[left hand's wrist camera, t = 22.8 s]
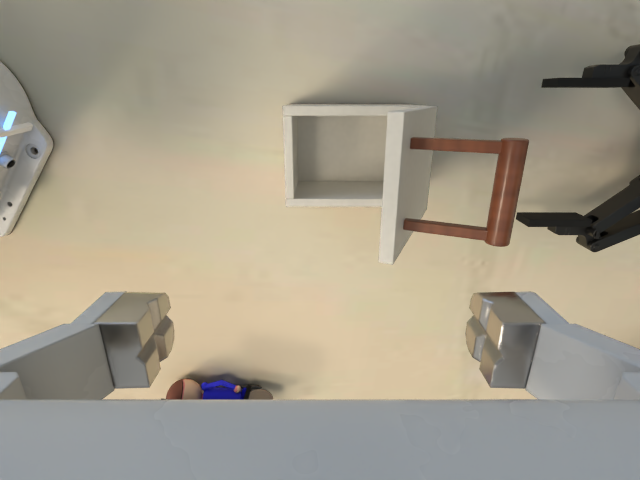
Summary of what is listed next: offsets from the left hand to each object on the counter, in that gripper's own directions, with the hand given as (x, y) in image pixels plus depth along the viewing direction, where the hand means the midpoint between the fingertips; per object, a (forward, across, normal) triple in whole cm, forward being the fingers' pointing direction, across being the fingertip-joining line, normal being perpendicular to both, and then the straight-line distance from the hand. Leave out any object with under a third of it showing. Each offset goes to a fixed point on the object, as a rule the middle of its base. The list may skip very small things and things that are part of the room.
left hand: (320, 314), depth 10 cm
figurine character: (+37, +14, +36) cm, 53 cm away
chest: (+37, -3, 0) cm, 37 cm away
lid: (+21, -7, 0) cm, 22 cm away
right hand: (+30, -22, 0) cm, 37 cm away
